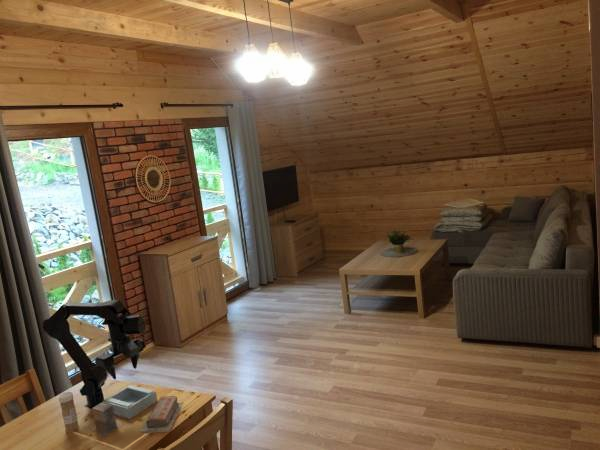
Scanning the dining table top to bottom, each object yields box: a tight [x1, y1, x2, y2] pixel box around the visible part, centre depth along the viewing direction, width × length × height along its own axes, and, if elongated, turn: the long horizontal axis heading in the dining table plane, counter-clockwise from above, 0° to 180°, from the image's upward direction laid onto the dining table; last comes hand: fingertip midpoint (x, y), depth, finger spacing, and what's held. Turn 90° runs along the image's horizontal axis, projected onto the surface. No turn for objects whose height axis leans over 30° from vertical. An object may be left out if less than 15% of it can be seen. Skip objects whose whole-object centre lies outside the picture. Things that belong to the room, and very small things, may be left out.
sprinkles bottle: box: [58, 391, 80, 434], centre depth 184 cm, size 5×5×14 cm
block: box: [91, 403, 118, 434], centre depth 182 cm, size 4×6×8 cm, turn 58°
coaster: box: [91, 422, 122, 436], centre depth 182 cm, size 7×7×1 cm
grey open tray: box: [102, 384, 158, 420], centre depth 196 cm, size 14×13×5 cm
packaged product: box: [140, 395, 184, 434], centre depth 185 cm, size 18×5×10 cm
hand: (125, 373), depth 197 cm, fingers open, 9 cm apart
